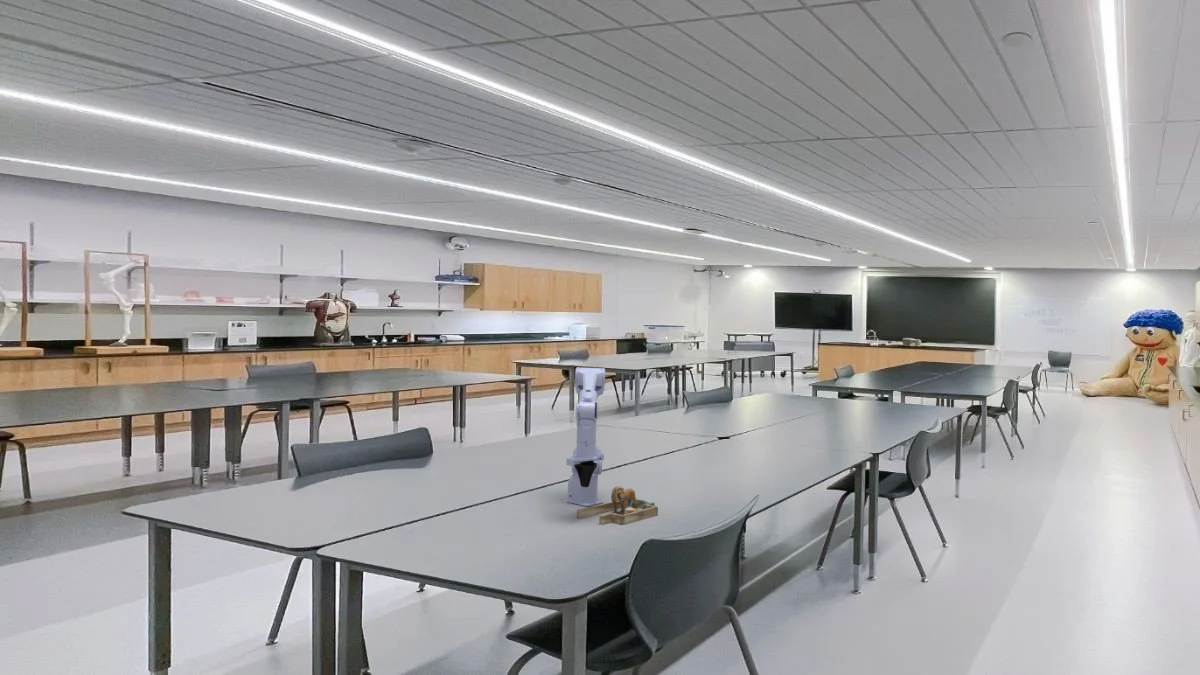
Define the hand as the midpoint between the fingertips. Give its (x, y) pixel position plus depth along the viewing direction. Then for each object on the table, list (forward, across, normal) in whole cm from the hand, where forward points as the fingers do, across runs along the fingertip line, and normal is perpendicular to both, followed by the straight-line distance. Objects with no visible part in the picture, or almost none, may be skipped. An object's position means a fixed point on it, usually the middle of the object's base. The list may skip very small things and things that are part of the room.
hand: (584, 486), depth 235 cm
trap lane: (+9, +10, -6) cm, 15 cm away
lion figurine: (+10, +14, -4) cm, 18 cm away
